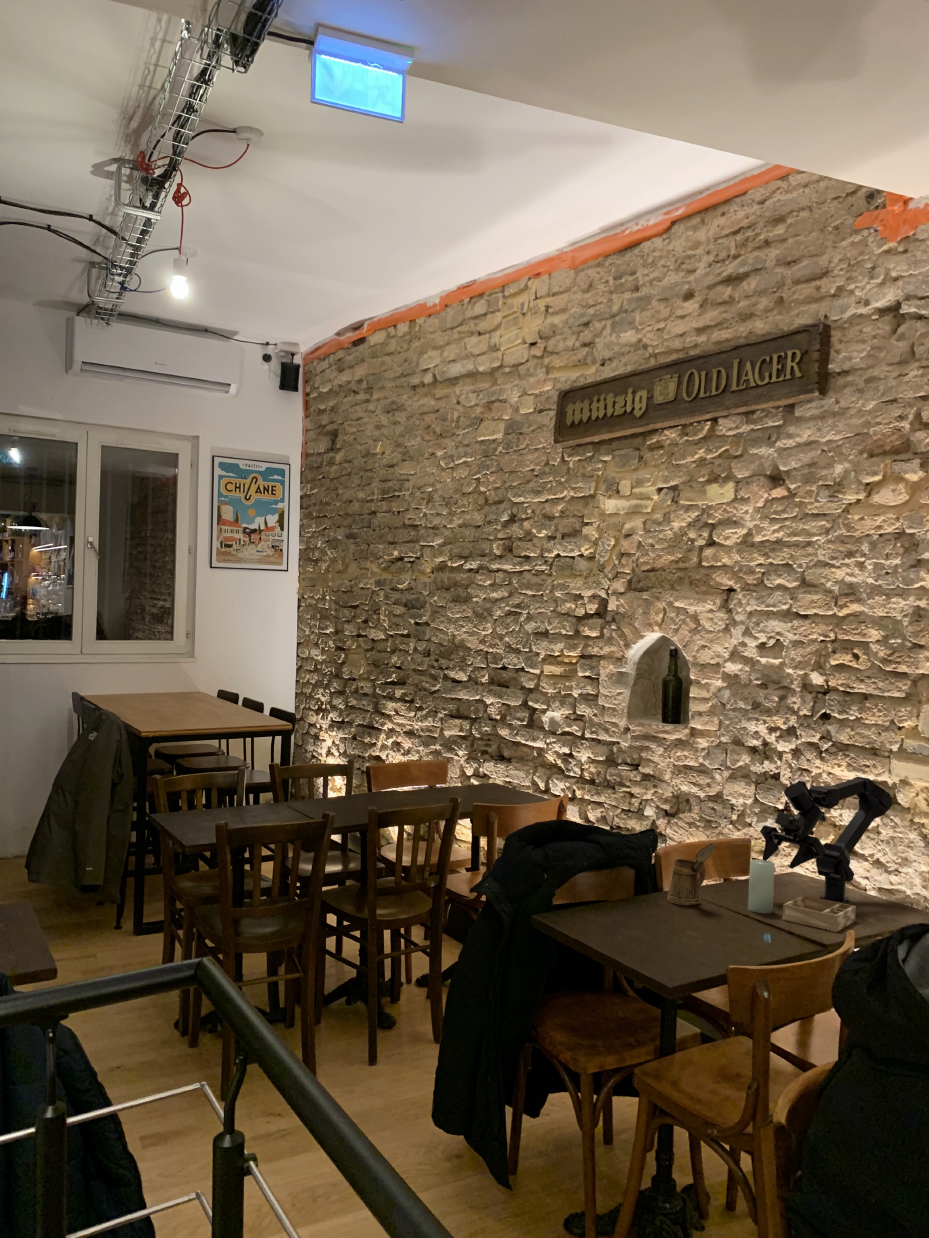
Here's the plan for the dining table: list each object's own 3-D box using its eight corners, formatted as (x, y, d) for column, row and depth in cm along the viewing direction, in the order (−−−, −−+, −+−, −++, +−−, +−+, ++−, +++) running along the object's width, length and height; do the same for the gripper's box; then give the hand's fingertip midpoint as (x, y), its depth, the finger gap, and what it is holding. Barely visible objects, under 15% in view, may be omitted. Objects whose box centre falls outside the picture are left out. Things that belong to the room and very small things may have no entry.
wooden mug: (698, 911, 257) (702, 844, 257) (660, 899, 268) (663, 834, 268) (719, 907, 262) (723, 841, 263) (681, 895, 273) (684, 832, 273)
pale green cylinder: (753, 905, 267) (755, 858, 267) (776, 910, 263) (778, 862, 263) (744, 909, 262) (746, 861, 262) (766, 914, 258) (769, 866, 258)
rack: (803, 909, 265) (803, 895, 265) (855, 921, 256) (855, 906, 256) (782, 919, 254) (783, 904, 254) (836, 931, 245) (836, 916, 245)
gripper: (765, 797, 277) (737, 837, 271) (820, 808, 261) (791, 851, 255) (782, 823, 281) (755, 863, 275) (837, 835, 265) (809, 878, 259)
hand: (776, 863), depth 266 cm, fingers open, 9 cm apart
